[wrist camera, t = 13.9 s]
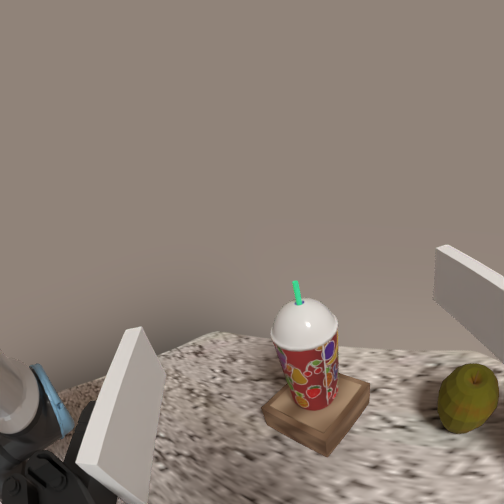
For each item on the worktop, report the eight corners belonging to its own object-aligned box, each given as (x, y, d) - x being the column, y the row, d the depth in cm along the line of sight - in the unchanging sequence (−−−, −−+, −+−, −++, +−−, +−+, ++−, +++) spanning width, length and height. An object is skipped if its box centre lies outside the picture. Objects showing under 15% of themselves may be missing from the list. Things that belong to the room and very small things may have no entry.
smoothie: (355, 393, 38) (347, 275, 31) (313, 427, 34) (289, 311, 28) (318, 370, 45) (299, 260, 38) (277, 398, 41) (245, 287, 35)
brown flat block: (267, 425, 42) (260, 406, 40) (311, 380, 49) (308, 360, 48) (327, 457, 34) (325, 440, 32) (369, 402, 41) (370, 382, 39)
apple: (423, 406, 36) (434, 358, 32) (472, 387, 34) (487, 338, 31) (442, 454, 26) (463, 411, 23) (495, 429, 25) (520, 381, 21)
